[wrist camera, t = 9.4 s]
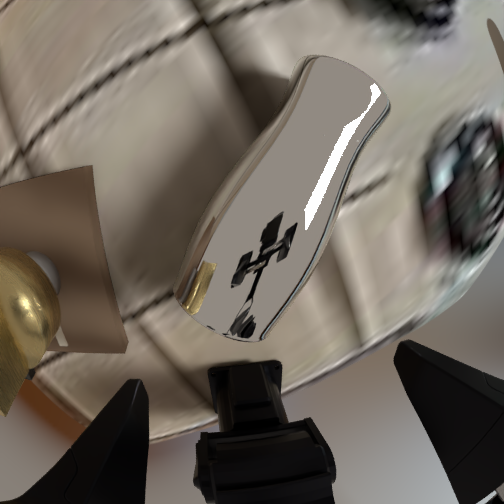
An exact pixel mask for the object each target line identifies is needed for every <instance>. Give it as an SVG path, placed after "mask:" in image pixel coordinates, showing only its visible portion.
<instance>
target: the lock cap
mask: <svg viewBox="0 0 504 504" xmlns="http://www.w3.org/2000/svg"><path fill="white" fill-rule="evenodd" d="M60 323H61V309H60V304H59V299H58V297H57V294H56V291H55V289H54V287H53V285H52V283H51V281H50V279H49V278H48V276H47V275H46V273H45V272H44V271H43V270H42V268H41V267H40V266H39V265H38V264H37V263H36V262H35V261H34V260H33V259H32V258H31V257H30V256H28V255H27V254H25V253H24V252H22V251H20V250H18V249H15V248H11V247H2V248H0V415H2V416H5V417H6V415H7V414H8V411H9V409H10V407H11V405H12V403H13V401H14V399H15V397H16V395H17V393H18V391H19V389H20V387H21V385H22V383H23V381H24V379H28V380H32V378H33V376H34V375H35V373H36V372H35V370H34V367H35V366H37V365H38V363H39V362H40V360H41V359H42V357H43V355H44V353H45V352H46V350H47V348H48V347H49V345H50V343H51V341H52V340H53V338H54V337H55V335H56V333H57V331H58V329H59V327H60Z"/></svg>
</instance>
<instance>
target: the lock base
mask: <svg viewBox="0 0 504 504" xmlns="http://www.w3.org/2000/svg"><path fill="white" fill-rule="evenodd" d="M2 247H11V248H15V249H18V250H20V251H22V252H24V253H25V254H27V255H28V256H30V257H31V258H32V259H33V260H34V261H35V262H36V263H37V264H38V265H39V266H40V267H41V268H42V270H43V271H44V272H45V273H46V275H47V276H48V278H49V279H50V281H51V283H52V285H53V287H54V289H55V291H56V294H57V297H58V299H59V304H60V309H61V323H60V327H59V329H58V331H57V333H56V335H55V337H54V338H53V340H52V341H51V343H50V345H49V347H48V348H47V350H46V351H59V352H78V353H125V352H126V348H127V345H128V339H127V336H126V332H125V329H124V326H123V323H122V319H121V316H120V312H119V309H118V305H117V301H116V298H115V294H114V290H113V286H112V282H111V278H110V274H109V269H108V265H107V260H106V255H105V250H104V245H103V240H102V235H101V229H100V223H99V217H98V210H97V203H96V196H95V187H94V178H93V168H92V165H91V166H85V167H80V168H75V169H70V170H65V171H61V172H56V173H52V174H47V175H43V176H39V177H35V178H31V179H27V180H24V181H20V182H16V183H13V184H9V185H6V186H2V187H0V248H2Z"/></svg>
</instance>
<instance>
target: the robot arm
mask: <svg viewBox="0 0 504 504" xmlns="http://www.w3.org/2000/svg"><path fill="white" fill-rule="evenodd" d="M394 365H395V367H396V370H397V372H398V374H399V376H400V379H401V381H402V384H403V386H404V389H405V391H406V393H407V395H408V397H409V400H410V401H411V403H412V405H413V407H414V409H415V411H416V413H417V414H418V416H419V418H420V420H421V422H422V424H423V426H424V428H425V430H426V432H427V434H428V436H429V438H430V440H431V442H432V444H433V446H434V448H435V450H436V453H437V455H438V457H439V459H440V461H441V463H442V465H443V468H444V470H445V472H446V474H447V476H448V479H449V481H450V483H451V486H452V488H453V490H454V493H455V495H456V497H457V500H458V502H459V504H476V503H478V502H479V501H481V500H482V499H483V498H485V497H486V496H488V495H489V494H490V493H491V492H493V491H494V490H495V491H496V493H497V494H496V495H495V496H493V498H491V499H490V500H489V501H488V502H487V503H486V504H504V380H502V379H499V378H497V377H494V376H492V375H489V374H487V373H485V372H482V371H480V370H478V369H475V368H473V367H471V366H468V365H466V364H464V363H462V362H459V361H457V360H455V359H453V358H450V357H448V356H446V355H443V354H441V353H439V352H437V351H434V350H432V349H430V348H428V347H425V346H423V345H421V344H419V343H416V342H414V341H412V340H409V339H408V340H404V341H401V342H400V343H399V345H398V347H397V350H396V353H395V356H394ZM275 366H277V367H275ZM212 373H215V374H212ZM208 378H209V383H210V389H211V394H212V399H213V404H214V409H215V413H217V414H218V421H219V430H220V432H214V433H208V432H201V436H200V438H201V439H200V440H198V443H196V465H195V471H194V478H193V483H194V486H195V487H197V488H198V489H200V490H201V492H202V495H203V496H204V497H205V500H206V503H207V504H335V502H334V497H333V491H332V483H334V482H335V480H336V465H335V461H334V457H333V454H332V452H331V449H330V447H329V446H328V444H327V443H326V441H325V439H324V438H323V436H322V435H321V433H320V431H319V430H318V428H317V427H316V425H315V423H314V422H313V420H312V419H311V418H310V417H309V418H305V419H304V420H300V421H295V422H290V423H289V422H288V419H287V415H286V412H285V409H284V406H283V403H282V400H281V396H280V395H281V381H282V364H281V362H280V361H271V362H264V363H256V364H247V365H238V366H229V367H218V368H211V369H209V370H208ZM148 449H149V399H148V395H147V392H146V390H145V387H144V385H143V382H142V380H141V379H129V380H127V381H126V383H125V384H124V385H123V386H122V387H121V388H120V390H119V391H118V392H117V393H116V394H115V395H114V397H113V398H112V399H111V400H110V401H109V402H108V404H107V405H106V406H105V407H104V408H103V409H102V411H101V412H100V413H99V414H98V415H97V416H96V418H95V419H94V420H93V421H92V422H91V423H90V425H89V426H88V427H87V428H86V429H85V431H84V432H83V433H82V434H81V435H80V437H79V438H78V439H77V440H76V441H75V442H74V444H73V445H72V446H71V448H69V449H68V451H67V452H66V453H65V454H64V455H63V456H62V458H61V459H60V460H59V461H58V462H57V463H56V464H55V465H54V466H53V467H52V468H51V469H50V470H49V471H48V472H47V473H46V474H45V475H44V476H43V477H42V478H41V479H40V480H39V481H37V482H36V483H35V484H34V485H33V486H32V487H31V488H30V489H29V490H28V491H26V492H25V493H24V494H23V495H21V496H20V497H18V498H16V499H13V500H9V501H2V502H0V504H145V488H146V473H147V459H148Z"/></svg>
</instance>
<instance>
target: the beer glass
mask: <svg viewBox="0 0 504 504" xmlns="http://www.w3.org/2000/svg"><path fill="white" fill-rule="evenodd" d="M390 112H391V103H390V100H389V98H388V96H387V94H386V93H385V91H384V90H383V89H382V87H381V86H380V85H379V84H378V83H377V82H376V81H375V80H373V79H372V78H371V77H370V76H369V75H367V74H366V73H364V72H363V71H361V70H360V69H358V68H356V67H355V66H353V65H351V64H349V63H347V62H344V61H342V60H339V59H336V58H333V57H329V56H324V55H307V56H304V57H302V58H300V59H299V60H298V61H297V62H296V64H295V66H294V69H293V71H292V74H291V77H290V80H289V83H288V86H287V88H286V91H285V94H284V96H283V98H282V101H281V102H280V104H279V106H278V108H277V110H276V112H275V113H274V115H273V116H272V118H271V119H270V121H269V122H268V124H267V125H266V127H265V128H264V129H263V130H262V132H261V133H260V134H259V136H258V137H257V138H256V139H255V141H254V142H253V143H252V144H251V146H250V147H249V148H248V149H247V151H246V152H245V153H244V154H243V156H242V157H241V158H240V159H239V161H238V162H237V163H236V164H235V166H234V167H233V168H232V170H231V171H230V172H229V174H228V175H227V176H226V178H225V179H224V180H223V182H222V183H221V185H220V186H219V188H218V189H217V191H216V192H215V194H214V195H213V197H212V198H211V200H210V202H209V203H208V205H207V207H206V209H205V211H204V213H203V215H202V217H201V218H200V220H199V222H198V225H197V227H196V229H195V231H194V234H193V236H192V238H191V240H190V243H189V246H188V248H187V251H186V253H185V256H184V259H183V262H182V265H181V267H180V270H179V273H178V276H177V278H176V281H175V282H174V285H173V291H174V295H175V297H176V299H177V301H178V303H179V304H180V306H181V307H182V308H183V309H184V310H185V311H186V312H187V313H188V314H189V315H190V316H191V317H192V318H193V319H194V320H196V321H197V322H198V323H200V324H201V325H203V326H204V327H206V328H208V329H209V330H211V331H213V332H215V333H217V334H219V335H222V336H224V337H227V338H230V339H233V340H237V341H243V342H258V341H262V340H264V339H266V338H267V337H268V336H269V335H270V333H271V331H272V330H273V328H274V327H275V326H276V325H277V323H278V322H279V321H280V320H281V318H282V317H283V316H284V315H285V313H286V312H287V311H288V309H289V308H290V307H291V305H292V304H293V303H294V301H295V300H296V298H297V297H298V296H299V294H300V293H301V291H302V290H303V288H304V287H305V285H306V284H307V282H308V280H309V279H310V277H311V275H312V273H313V272H314V270H315V268H316V266H317V265H318V263H319V261H320V259H321V257H322V255H323V252H324V250H325V248H326V245H327V243H328V241H329V239H330V236H331V234H332V231H333V228H334V225H335V223H336V220H337V217H338V214H339V212H340V209H341V206H342V203H343V200H344V197H345V194H346V191H347V188H348V185H349V183H350V180H351V177H352V174H353V171H354V169H355V167H356V165H357V163H358V160H359V158H360V156H361V154H362V153H363V151H364V149H365V147H366V146H367V144H368V143H369V141H370V140H371V139H372V137H373V136H374V135H375V133H376V132H377V131H378V130H379V128H380V127H381V126H382V125H383V123H384V122H385V121H386V119H387V118H388V116H389V115H390Z"/></svg>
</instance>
